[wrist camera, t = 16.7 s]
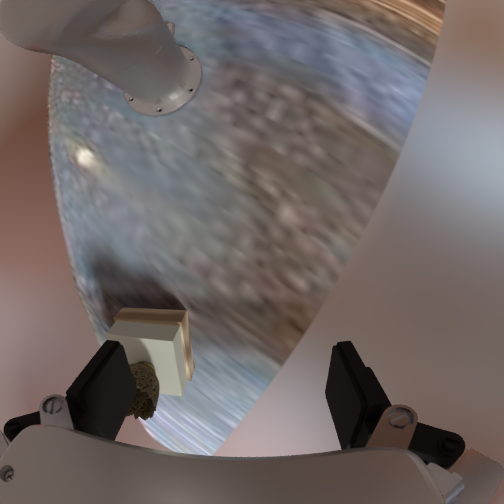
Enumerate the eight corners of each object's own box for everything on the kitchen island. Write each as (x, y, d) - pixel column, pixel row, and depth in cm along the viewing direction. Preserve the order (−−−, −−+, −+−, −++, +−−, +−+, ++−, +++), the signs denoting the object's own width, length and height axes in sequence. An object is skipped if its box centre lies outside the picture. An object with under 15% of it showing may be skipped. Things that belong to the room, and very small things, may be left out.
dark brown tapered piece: (158, 392, 38) (144, 427, 30) (119, 368, 37) (99, 401, 29) (176, 366, 36) (162, 403, 28) (133, 340, 35) (111, 373, 27)
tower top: (117, 319, 39) (105, 333, 35) (180, 325, 39) (172, 341, 35) (130, 371, 42) (121, 387, 38) (187, 379, 42) (182, 396, 38)
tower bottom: (123, 306, 44) (113, 317, 39) (187, 309, 44) (181, 322, 39) (136, 360, 47) (128, 373, 42) (195, 365, 47) (190, 380, 42)
